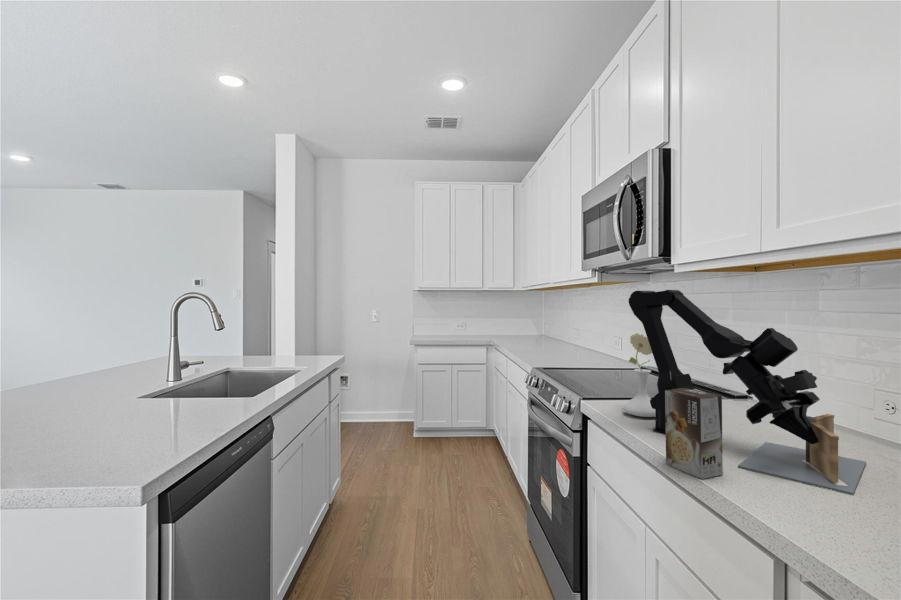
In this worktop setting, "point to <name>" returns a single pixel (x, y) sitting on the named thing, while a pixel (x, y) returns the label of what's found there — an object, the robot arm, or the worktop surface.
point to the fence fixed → (824, 421)
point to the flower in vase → (640, 381)
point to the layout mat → (802, 467)
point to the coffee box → (694, 432)
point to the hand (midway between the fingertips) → (815, 443)
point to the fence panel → (825, 452)
